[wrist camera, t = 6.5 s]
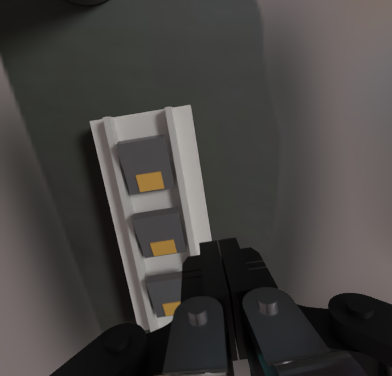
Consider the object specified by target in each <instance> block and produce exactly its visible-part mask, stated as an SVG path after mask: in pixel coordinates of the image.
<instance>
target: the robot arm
mask: <svg viewBox="0 0 392 376" xmlns="http://www.w3.org/2000/svg"><path fill="white" fill-rule="evenodd" d="M68 1H70V2H73V3H75V4H80V5H96V4H99V3H102V2H105V1H106V0H68ZM218 246H219V249H218ZM199 247H200V255H195V256H188V257H187V258H186V260H185V261H184V262H183V264H182V283H181V302H180V304H179V305H178V307H177V308H176V309H175V311H174V314H173V319H172V321H171V322H170V323H169V324H167V325H165V326H164V327H162V328H160V329H157V330H155V331H152V332H150V333H147V334H145V331H144V329H143V328H142V327H141V326H140V325H137V324H134V323H124V324H119V325H116V326H114V327H112V328H110V329H108V330H106V331H105V332H104V333H102V334H101V335H100V336H98V337H97V338H96V339H95V340H93V341H92V342H91V343H90V344H88V345H87V346H86V347H85V348H83V349H82V350H81V351H80V352H78V353H77V354H76V355H75V356H73V357H72V358H71V359H70V360H68V361H67V362H66V363H65V364H64V365H62V366H61V367H60V368H59V369H57V370H56V371H55V372H53V373H52V374H51V375H50V376H234V369H233V362H232V361H235V360H237V351H236V344H237V349H238V353H239V358H240V360H241V359H248V362H249V366H250V372H251V376H392V304H389V303H386V302H383V301H380V300H378V299H375V298H372V297H369V296H366V295H362V294H357V293H343V294H339V295H336V296H334V297H333V298H332V299H330V301H329V304H328V309H322V308H312V307H305V306H301V305H298V304H296V303H295V301H294V300H293V299H292V297H291V296H290V295H289V294H288V293H286V292H284V291H282V290H280V289H278V287H277V285H276V283H275V281H274V279H273V278H272V276H271V274H270V272H269V270H268V268H267V267H266V265H265V263H264V262H263V259H262V257H261V256H260V254H259V253H258V252H257V251H255V250H254V249H252V248H251V247H250V248H243V249H240V247H239V245H238V242H237V240H236V238H228V239H221V240H218V244H217V240H215V241H208V242H201V243H199ZM234 335H235V336H234ZM235 339H236V343H235Z"/></svg>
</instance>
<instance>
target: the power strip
mask: <svg viewBox="0 0 392 376" xmlns="http://www.w3.org/2000/svg"><path fill="white" fill-rule="evenodd" d="M90 125H91V129H92V134H93V138H94V142H95V146H96V151H97V155H98V159H99V163H100V168H101V172H102V176H103V180H104V185H105V189H106V193H107V198H108V202H109V206H110V210H111V215H112V219H113V223H114V227H115V232H116V236H117V240H118V244H119V249H120V253H121V257H122V262H123V266H124V270H125V274H126V279H127V283H128V287H129V291H130V296H131V300H132V304H133V309H134V313H135V317H136V321H137V325H140V326H141V327H142V328H143V329H144V330H150V332H152V331H155V330H157V329H159V328H162V327H164V326H165V325H167V324H169V323H170V322H171V321H172V319H173V316H166V317H159V318H157V315H156V312H155V309H154V306H153V303H152V300H151V297H150V294H149V291H148V288H147V285H146V282H147V276H153V275H160V274H166V273H173V272H179V271H182V264H183V262H184V261H185V260H186V258H187V257H188V256H195V255H200V247H199V243H201V242H208V241H212V240H211V233H210V227H209V220H208V214H207V208H206V201H205V195H204V188H203V182H202V175H201V169H200V163H199V156H198V150H197V143H196V137H195V130H194V124H193V118H192V111H191V105H187V106H181V107H174V108H172V107H171V106H170V107H165V109H162V110H156V111H150V112H144V113H138V114H132V115H125V116H119V117H103V119H101V120H95V121H90ZM162 134H165V138H166V142H167V147H168V152H169V157H170V162H171V167H172V172H173V176H174V181H175V188H172V189H166V190H160V191H153V192H147V193H141V194H134V195H131V194H130V190H129V187H128V184H127V180H126V177H125V174H124V170H123V167H122V164H121V160H120V157H119V153H118V150H117V147H116V144H117V143H118V141H125V140H131V139H137V138H143V137H149V136H155V135H162ZM173 207H178V211H179V216H180V220H181V225H182V229H183V233H184V238H185V242H186V252H183V253H176V254H170V255H163V256H157V257H150V258H145V257H144V254H143V251H142V248H141V245H140V242H139V239H138V237H137V234H136V231H135V228H134V225H133V222H132V216H133V214H134V213H141V212H147V211H153V210H160V209H166V208H173Z"/></svg>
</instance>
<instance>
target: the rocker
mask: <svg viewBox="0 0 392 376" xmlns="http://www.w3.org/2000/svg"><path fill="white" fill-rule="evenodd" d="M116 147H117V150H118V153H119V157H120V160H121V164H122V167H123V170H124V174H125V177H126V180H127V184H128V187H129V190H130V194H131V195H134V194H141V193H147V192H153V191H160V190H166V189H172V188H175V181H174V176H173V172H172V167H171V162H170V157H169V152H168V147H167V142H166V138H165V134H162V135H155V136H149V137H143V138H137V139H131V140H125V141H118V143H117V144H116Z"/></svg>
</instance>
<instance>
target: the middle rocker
mask: <svg viewBox="0 0 392 376" xmlns="http://www.w3.org/2000/svg"><path fill="white" fill-rule="evenodd" d="M132 222H133V225H134V228H135V231H136V234H137V237H138V239H139V242H140V245H141V248H142V251H143V254H144V257H145V258H150V257H157V256H163V255H170V254H176V253H183V252H186V242H185V238H184V233H183V229H182V225H181V220H180V216H179V211H178V207H173V208H166V209H160V210H153V211H147V212H141V213H134V214H133V216H132Z"/></svg>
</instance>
